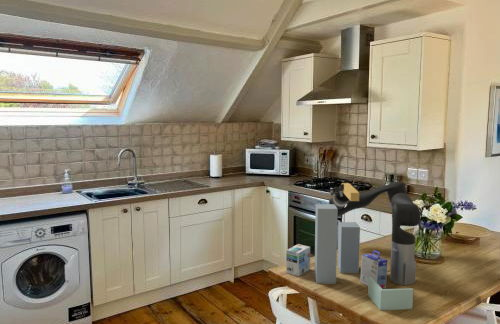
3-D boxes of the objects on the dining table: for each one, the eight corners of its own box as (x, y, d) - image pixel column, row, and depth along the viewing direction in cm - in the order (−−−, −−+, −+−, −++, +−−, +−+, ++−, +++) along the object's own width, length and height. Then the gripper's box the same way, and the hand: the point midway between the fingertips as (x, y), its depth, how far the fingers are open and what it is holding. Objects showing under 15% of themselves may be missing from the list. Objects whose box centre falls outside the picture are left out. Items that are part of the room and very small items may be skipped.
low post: (337, 265, 185) (338, 222, 183) (354, 266, 185) (356, 222, 182) (340, 272, 178) (341, 227, 175) (358, 273, 177) (360, 227, 174)
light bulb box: (298, 276, 174) (298, 253, 172) (285, 273, 178) (285, 249, 176) (310, 269, 182) (310, 246, 181) (297, 265, 186) (298, 243, 185)
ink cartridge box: (387, 288, 161) (388, 254, 160) (377, 291, 159) (378, 256, 157) (369, 279, 170) (370, 247, 168) (359, 282, 168) (360, 249, 166)
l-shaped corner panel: (412, 308, 145) (413, 289, 144) (380, 310, 144) (380, 290, 143) (397, 294, 157) (398, 275, 156) (368, 295, 156) (368, 276, 155)
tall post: (314, 275, 175) (315, 204, 171) (332, 275, 174) (334, 204, 170) (316, 283, 167) (317, 208, 163) (335, 283, 166) (337, 208, 162)
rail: (341, 190, 188) (341, 183, 188) (348, 190, 188) (349, 183, 187) (350, 201, 166) (350, 192, 166) (359, 201, 166) (359, 192, 166)
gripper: (326, 190, 199) (331, 178, 183) (355, 190, 198) (362, 178, 182) (327, 204, 196) (332, 193, 180) (356, 204, 196) (364, 193, 180)
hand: (347, 186), depth 182 cm, fingers closed on rail, 3 cm apart
